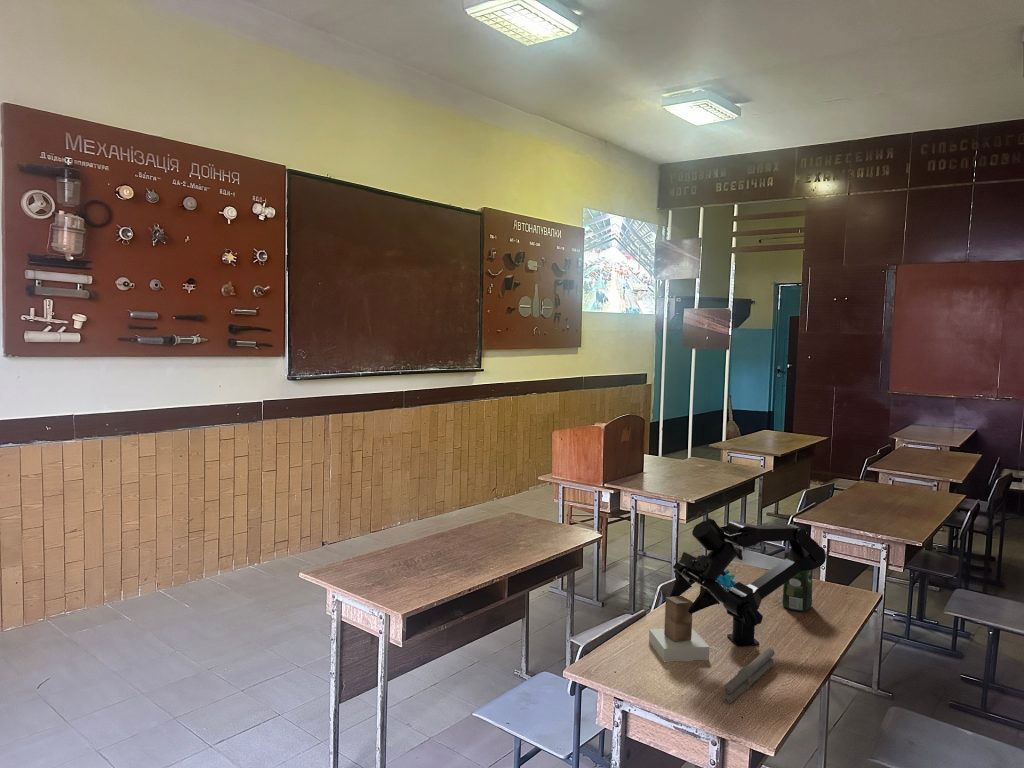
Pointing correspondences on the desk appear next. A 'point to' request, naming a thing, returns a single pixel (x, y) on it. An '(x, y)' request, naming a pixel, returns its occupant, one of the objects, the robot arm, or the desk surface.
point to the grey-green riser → (678, 647)
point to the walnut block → (678, 618)
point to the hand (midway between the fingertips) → (679, 606)
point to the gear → (726, 580)
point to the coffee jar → (798, 590)
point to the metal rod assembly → (748, 675)
